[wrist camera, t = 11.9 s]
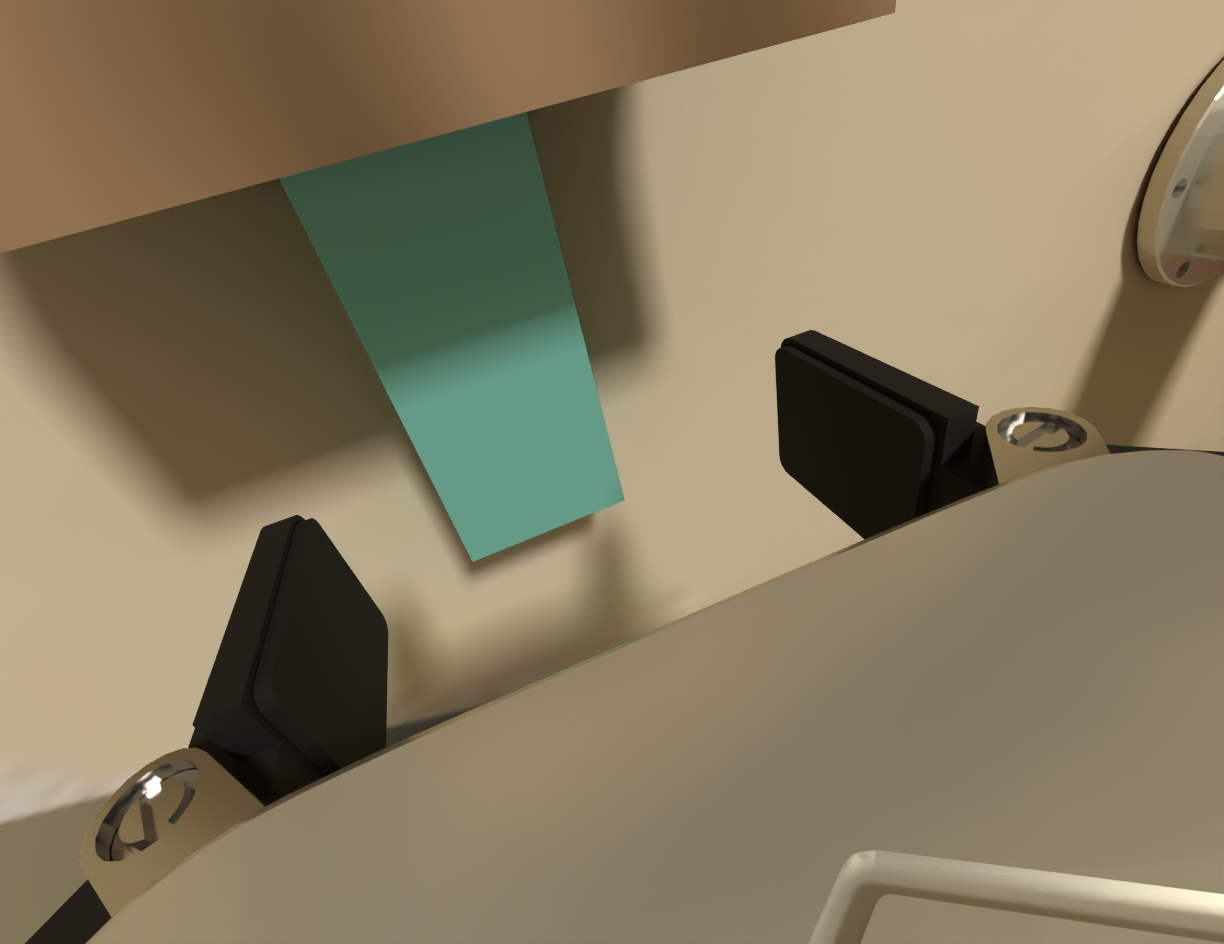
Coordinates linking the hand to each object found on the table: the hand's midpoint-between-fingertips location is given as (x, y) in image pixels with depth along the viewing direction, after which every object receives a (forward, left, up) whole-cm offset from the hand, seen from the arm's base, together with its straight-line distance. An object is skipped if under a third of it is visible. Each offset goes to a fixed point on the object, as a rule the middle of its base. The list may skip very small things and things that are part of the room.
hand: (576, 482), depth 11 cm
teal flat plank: (+1, -3, -11) cm, 11 cm away
